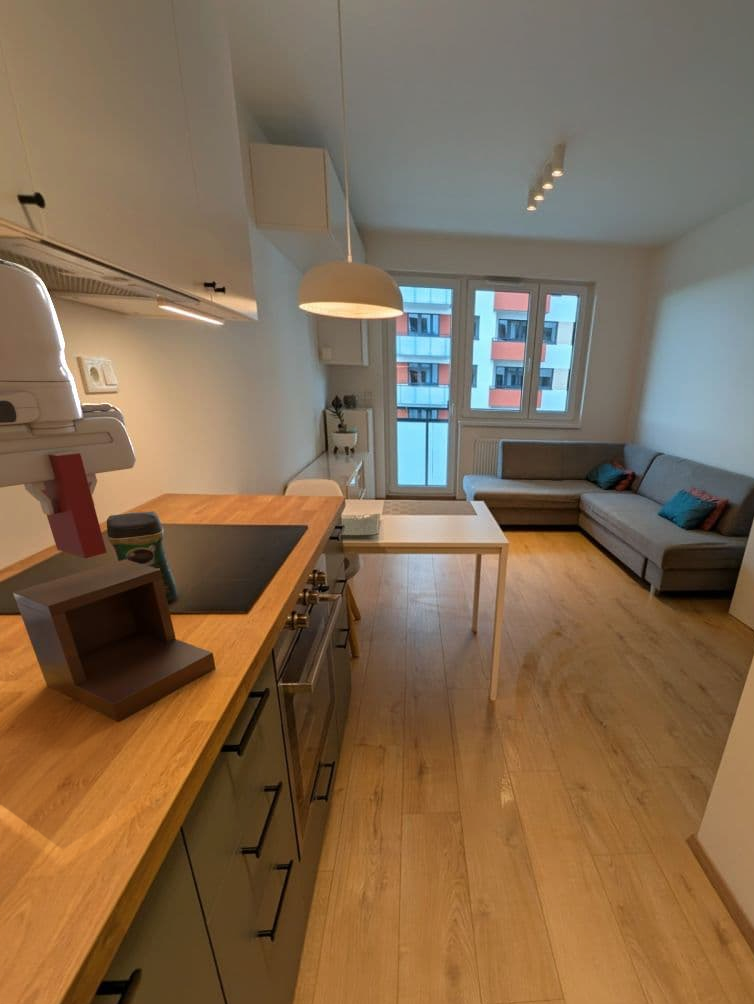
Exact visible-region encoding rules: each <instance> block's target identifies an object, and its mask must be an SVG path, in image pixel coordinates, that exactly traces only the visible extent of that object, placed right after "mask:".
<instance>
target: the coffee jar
mask: <svg viewBox="0 0 754 1004" xmlns="http://www.w3.org/2000/svg"><path fill="white" fill-rule="evenodd" d="M164 532H165V529H164V526H163V525H162V522H161V520H160V518H159V516H158V514H157V512H156V511H141V512H140V511H139V512H128V513H120V514H113V515H112V514H111V515H109V516H108V517H107V519H106V533H107V540H108V541H109V543H110V544H111V545H112V547H113V549H114V551H115V555H116V558H117V561H121V560H124V559H126V560H129V561H133V562H136V563H140V564H143V565H147V566H150V567H153V568H157V569H160V572H161V576H162V581H163V585H164V589H165V594H166V598H167V603H168V604H169V603H171V602H173V601H174V600H176V599H177V598H178V595H179V590H178V587H177V584H176V580H175V578H174V575H173V572H172V569H171V567H170V564H169V561H168V558H167V555H166V551H165V547H164V536H165V533H164Z"/></svg>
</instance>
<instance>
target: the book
mask: <svg viewBox="0 0 754 1004" xmlns="http://www.w3.org/2000/svg"><path fill="white" fill-rule="evenodd" d="M49 459H50V462H51V465H52V469H53V472H54V476H55V480H49V481H43V482H44V485H45V490H41V491H42V492H43V493H44V494H45V495H46V496H47V497H48V498H49V499H53V500H58V502H59V505H60V506H59V507H60V508H61V513H57V514H53V515H47V514H45V515H46V518H47V520H48V524H49V528H50V531H51V534H52V537H53V540H54V543H55V546H56V547H55V548H56V550H57V551H59V552H63V553H66V554H70V555H73V556H76V557H80V558H82V559H89V558H93V557H96V556H99V555H103V554H107V549H106V544H105V541H104V537H103V534H102V529H101V526H100V522H99V518H98V515H97V511H96V508H95V502H94V503H93V501H94V498H93V499H92V497H93V494H92V495H91V492H90V488H89V484H88V481H87V477H86V473H85V469H84V466H83V462H82V458H81V454H80V453H78V452H72V451H69V452H60V453H50V455H49Z"/></svg>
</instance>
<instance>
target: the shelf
mask: <svg viewBox="0 0 754 1004" xmlns="http://www.w3.org/2000/svg"><path fill="white" fill-rule="evenodd" d="M12 594H13V596H14V599H15V602H16V605H17V608H18V611H19V613H20V616H21V618H22V622H23V624H24V627H25V630H26V632H27V636H28V639H29V640H30V643H31V646H32V649H33V651H34V655H35V657H36V660H37V662H38V666H39V668H40V670H41V673H42V676H43V679H44V682H45V684H46V686H48V687H49V688H51V689H53V690H55V691H57V692H59V693H61V694H63V695H65V696H68V697H69V698H71V699H73V700H75V701H77V702H79V703H81V704H83V705H84V706H86V707H89V708H90V709H93V710H94V711H97V712H98V713H101V714H103V715H104V716H107V717H108V718H110V719H112V720H113V721H116V722H118V723H120V722H121V721H123V720H125V719H126V718H129V717H130V716H132V715H133V714H136V713H138V712H140V711H141V710H143V709H145V708H146V707H148V706H150V705H152V704H154V703H156V702H158V701H159V700H161V699H163V698H165V697H166V696H168V695H170V694H172V693H174V692H175V691H177V690H180V689H181V688H183V687H184V686H186V685H188V684H190V683H192V682H193V681H195V680H197V679H199V678H201V677H202V676H204V675H206V674H208V673H209V672H211V671H213V670H215V669H216V663H215V658H214V654H213V653H214V652H212V651H209V650H207V649H204V648H202V647H199V646H196V645H194V644H191V643H187V642H186V641H182V640H180V639H177V638H176V633H175V628H174V625H173V619H172V616H171V611H170V607H169V602H168V603H167V598H166V594H165V589H164V585H163V581H162V576H161V572H160V569H157V568H153V567H150V566H147V565H143V564H140V563H136V562H133V561H129V560H126V559H124V560H121V561H118V560H117V561H115V562H110V563H108V564H104V565H101V566H97V567H94V568H91V569H87V570H83V571H81V572H76V573H73V574H70V575H67V576H64V577H60V578H57V579H54V580H49V581H47V582H43V583H39V584H36V585H32V586H29V587H26V588H23V589H20V590H15V591H13V592H12Z"/></svg>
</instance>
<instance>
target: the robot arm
mask: <svg viewBox="0 0 754 1004" xmlns="http://www.w3.org/2000/svg"><path fill="white" fill-rule="evenodd" d="M65 349H66V344H65V338H64V336H63V332H62V329H61V325H60V322H59V319H58V315H57V312H56V309H55V306H54V304H53V301H52V299H51V296H50V293H49V291H48V289H47V287H46V285H45V283H44V282H43V280H42V278H41V277H40V276H39V275H37V274H36V273H35V272H34V271H33V270H31V269H30V268H28V267H26V266H23V265H22V264H19V263H15V262H12V261H9V260H4V259H2V258H0V488H8V487H13V486H20V485H21V486H22V485H23V487H24V489H25V491H27V492H28V494H30V495H31V496H32V497H34V499H36V501H38V502H39V504H40V507H41V510H42V512H43V514H44V515H46V514H47V515H53V514H57V513H61V508H60V507H59V506H60V505H59V502H58V500H53V499H49V498H48V497H47V496H46V495H45V494H44V493H43V492H42V491H41V490H45V485H44V482H43V481H49V480H55V476H54V472H53V469H52V465H51V462H50V459H49V455H50V453H60V452H69V451H72V452H78V453H80V454H81V458H82V462H83V466H84V469H85V473H86V477H87V481H88V484H89V488H90V492H91V495H92V499H93V503H94V504H95V501H94V497H93V495H94V492H95V489H96V486H97V483H98V480H97V475H96V474H102V473H108V472H117V471H123V470H130V469H132V468H133V469H134V466H135V465H136V462H137V459H136V454H135V450H134V448H133V444H132V442H131V439H130V437H129V434H128V431H127V430H126V422H125V417H124V414H123V413H122V412H121V410H120V409H119V408H117V407H116V406H115V405H114V406H113V405H111V404H110V402H109V403H108V402H99V403H89V402H88V403H81V401H80V398H79V394H78V390H77V386H76V383H75V378H74V376H73V374H72V372H71V371H70V368H69V367H68V365H67V361H66V357H65V351H66V350H65ZM47 515H46V516H47Z"/></svg>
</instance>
